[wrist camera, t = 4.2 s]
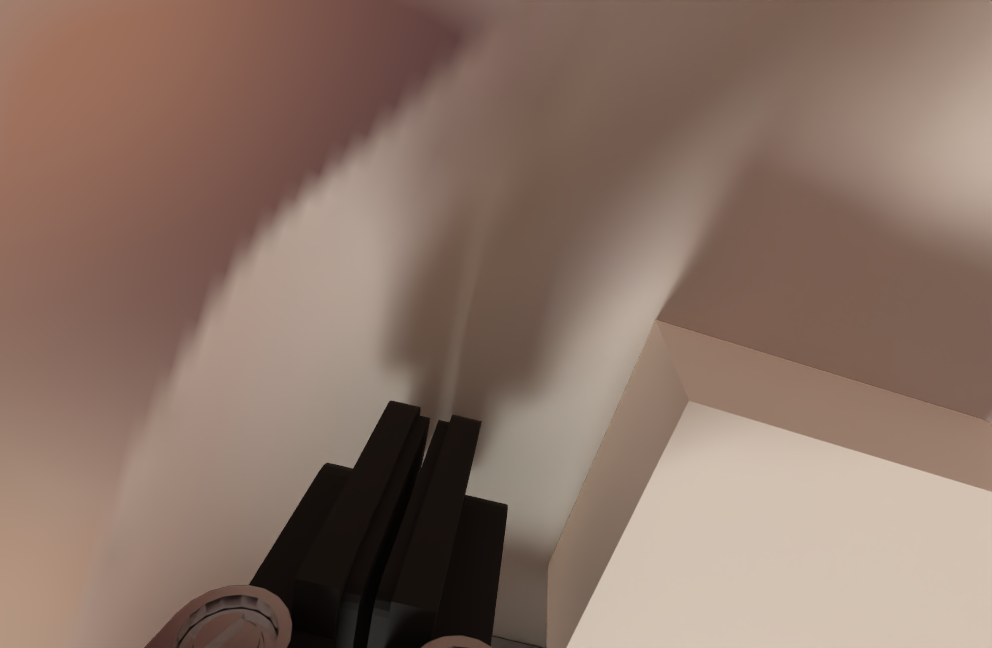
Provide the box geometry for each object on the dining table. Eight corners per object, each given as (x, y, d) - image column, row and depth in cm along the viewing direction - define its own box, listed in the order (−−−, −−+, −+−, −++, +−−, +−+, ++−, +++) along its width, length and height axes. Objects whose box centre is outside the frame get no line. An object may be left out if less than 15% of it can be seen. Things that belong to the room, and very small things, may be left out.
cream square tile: (973, 410, 10) (1125, 532, 7) (807, 632, 13) (877, 785, 10) (653, 313, 10) (689, 400, 7) (548, 555, 13) (545, 689, 10)
